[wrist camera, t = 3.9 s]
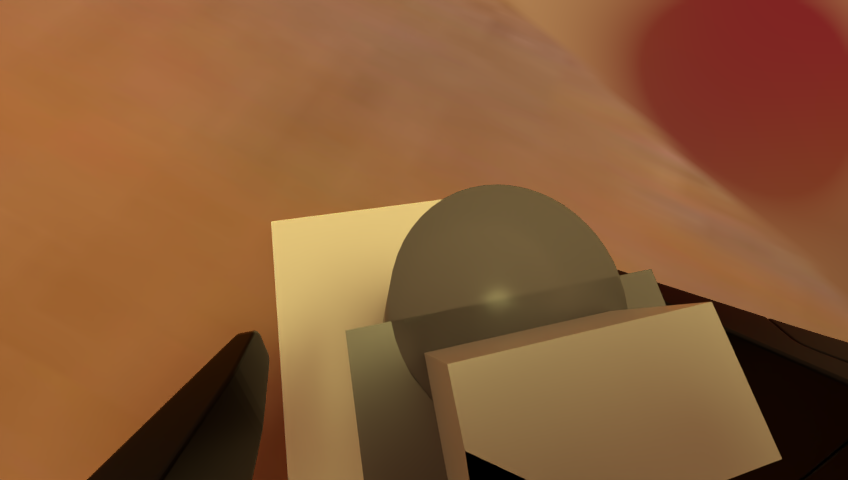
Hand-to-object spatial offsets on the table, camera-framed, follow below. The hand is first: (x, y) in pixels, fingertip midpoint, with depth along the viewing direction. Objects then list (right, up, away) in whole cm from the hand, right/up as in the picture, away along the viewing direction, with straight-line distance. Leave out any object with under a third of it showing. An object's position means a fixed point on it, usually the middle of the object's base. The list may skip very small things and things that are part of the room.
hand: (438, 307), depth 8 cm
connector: (-1, -3, +6) cm, 6 cm away
